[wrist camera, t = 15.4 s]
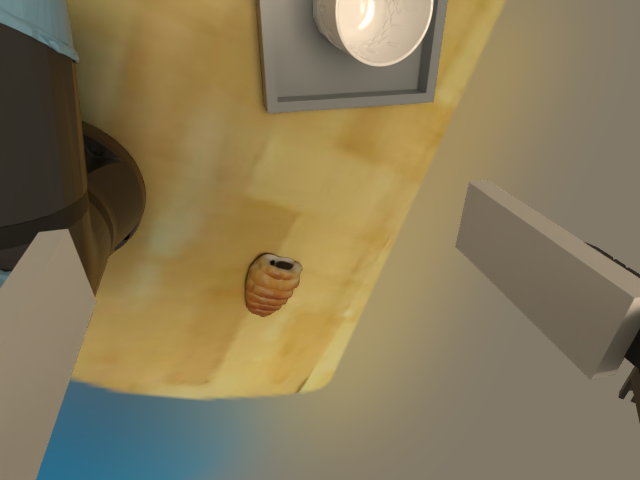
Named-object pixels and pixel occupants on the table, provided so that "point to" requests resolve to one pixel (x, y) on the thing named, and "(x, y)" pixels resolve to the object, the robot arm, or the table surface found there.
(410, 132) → the table surface
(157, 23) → the table surface
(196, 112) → the table surface
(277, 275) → the pastry
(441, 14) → the tray
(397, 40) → the white cup
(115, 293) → the table surface
